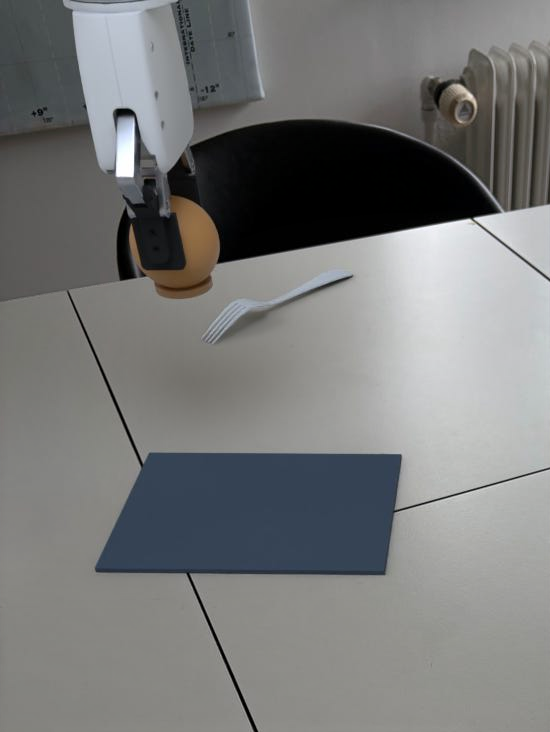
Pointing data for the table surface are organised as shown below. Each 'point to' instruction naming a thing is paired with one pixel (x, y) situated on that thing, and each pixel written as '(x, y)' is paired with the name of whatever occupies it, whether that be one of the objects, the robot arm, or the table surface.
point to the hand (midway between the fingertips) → (175, 246)
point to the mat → (256, 514)
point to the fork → (249, 304)
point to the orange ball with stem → (187, 253)
